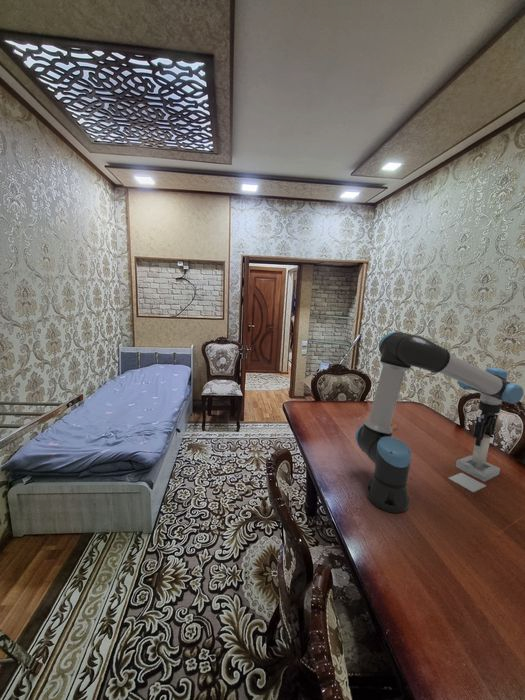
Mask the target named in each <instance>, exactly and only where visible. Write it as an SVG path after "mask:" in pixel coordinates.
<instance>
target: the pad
mask: <svg viewBox="0 0 525 700" xmlns="http://www.w3.org/2000/svg"><path fill="white" fill-rule="evenodd" d="M447 478H448V480H450V481H452V482H453V483H455V484H457V485H459V486H461V487H462V488H464V489H466V490H468V491H470V492H471V493H475V492H477V491H479V490H481V489H483V488H486V487H487V484H485V483H482V482H480V481H478V480H476V479H474V478H473V477H471V476H469V475H467V474H465V473H463V472H459V473H457V474H455V475H452V476H450V477H449V476H448V477H447Z"/></svg>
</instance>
